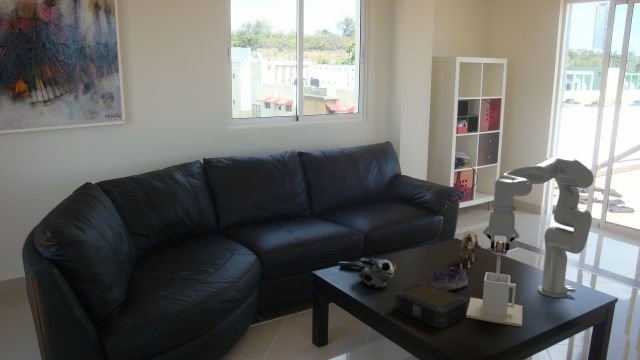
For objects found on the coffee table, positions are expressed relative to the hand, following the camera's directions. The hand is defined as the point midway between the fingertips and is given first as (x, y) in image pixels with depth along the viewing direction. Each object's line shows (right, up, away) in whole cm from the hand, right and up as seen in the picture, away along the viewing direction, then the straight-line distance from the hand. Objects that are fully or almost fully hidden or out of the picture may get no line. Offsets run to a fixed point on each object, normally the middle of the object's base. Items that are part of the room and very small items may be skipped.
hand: (499, 250), depth 213 cm
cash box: (-28, -28, +7) cm, 40 cm away
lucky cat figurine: (-47, -21, +37) cm, 64 cm away
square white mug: (0, -28, +6) cm, 28 cm away
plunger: (0, -17, +4) cm, 17 cm away
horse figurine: (+7, -16, +60) cm, 63 cm away
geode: (-13, -23, +32) cm, 42 cm away
